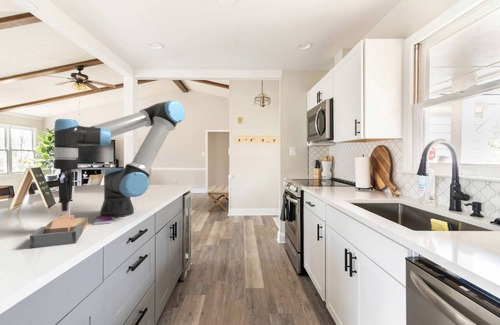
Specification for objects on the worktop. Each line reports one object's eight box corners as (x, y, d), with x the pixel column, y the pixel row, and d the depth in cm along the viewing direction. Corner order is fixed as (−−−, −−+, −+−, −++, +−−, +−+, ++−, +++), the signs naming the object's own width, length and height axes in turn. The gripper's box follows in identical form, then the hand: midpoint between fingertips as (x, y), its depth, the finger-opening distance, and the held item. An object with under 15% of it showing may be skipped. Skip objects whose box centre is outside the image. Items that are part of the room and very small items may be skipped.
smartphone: (92, 224, 105) (96, 216, 118) (92, 226, 105) (96, 218, 118) (111, 222, 108) (113, 214, 122) (111, 224, 108) (113, 216, 122)
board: (87, 224, 106) (87, 217, 106) (81, 233, 94) (81, 225, 94) (53, 227, 101) (53, 219, 101) (41, 237, 89) (41, 229, 89)
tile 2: (74, 222, 98) (74, 215, 98) (71, 225, 93) (71, 217, 93) (58, 223, 96) (58, 216, 96) (54, 227, 91) (54, 219, 91)
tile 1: (71, 224, 93) (70, 218, 92) (68, 233, 89) (67, 227, 88) (55, 225, 91) (54, 219, 90) (51, 235, 87) (50, 228, 86)
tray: (81, 233, 93) (81, 223, 93) (75, 243, 83) (75, 231, 83) (41, 237, 88) (41, 226, 88) (30, 248, 78) (29, 235, 78)
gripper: (59, 158, 101) (58, 215, 102) (48, 158, 89) (48, 223, 90) (81, 158, 104) (80, 214, 105) (73, 159, 92) (73, 221, 93)
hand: (65, 218), depth 97 cm, fingers closed
